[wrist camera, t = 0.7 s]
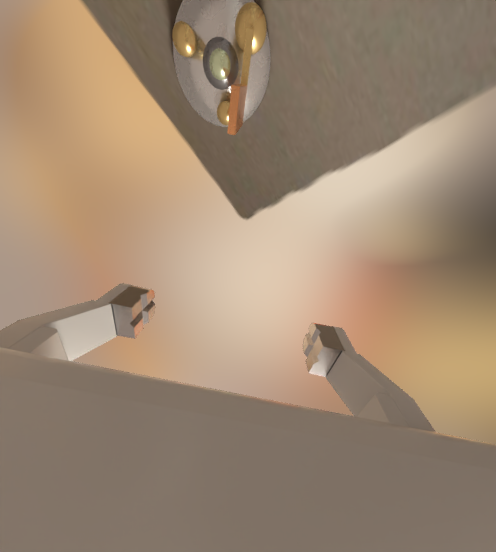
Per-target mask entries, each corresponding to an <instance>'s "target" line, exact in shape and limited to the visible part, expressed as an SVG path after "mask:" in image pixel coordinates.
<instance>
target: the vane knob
mask: <svg viewBox="0 0 496 552" xmlns="http://www.w3.org/2000/svg"><path fill="white" fill-rule="evenodd" d="M266 30H267V29H266V20H265V16H264V13H263V11H262V9H261V8H260V6H259V5H257V4H256V3H253V2H249V3H246V4H244V5H243V6H242V7H241V9H240V10H239V12H238V14H237V17H236V22H235V35H236V40H237V43H238V45H239V47H240V48H241V49H242V50H243V51H244V54H243V64H242V73H241V83H240V84H232V85H231V97H230V109H229V121H228V134H232V135H235V134H236V133H237V132H238V130H239V129H240V127H241V126H242V125H243V117H244V109H245V101H246V93H247V85H248V77H249V69H250V61H251V55H254V54H256V53H258V52H259V51H260V50H261V48H262V47H263V45H264V42H265V39H266Z"/></svg>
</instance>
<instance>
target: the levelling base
mask: <svg viewBox="0 0 496 552" xmlns="http://www.w3.org/2000/svg"><path fill="white" fill-rule="evenodd" d="M249 2H253V3H255V1H254V0H183V1H182V3H181V5H180V8H179V10H178V13H177V17H176V21H175V25H174V28H173V33H172V37H173V55H174V63H175V68H176V73H177V76H178V80H179V83H180V85H181V88H182V90H183V92H184V94H185V96H186V98H187V100H188V101H189V103H190V104H191V106H192V107H193V108H194V110H195V111H196V112H197V113H198V114H199V115H200V116H201V117H203V118H204V119H205V120H207V121H208V122H210V123H212V124H215V125H218V126H223V127H228V121H229V109H230V97H231V85H232V84H240V83H241V73H242V64H243V54H244V51H243V50H242V49H241V48H240V47H239V45H238V43H237V40H236V35H235V22H236V17H237V14H238V12H239V10H240V9H241V7H242V6H243V5H244V4H246V3H249ZM269 73H270V45H269V38H268V33H267V30H266V39H265V42H264V45H263V47H262V48H261V50H260V51H259V52H258V53H256V54H254V55H251V61H250V69H249V77H248V85H247V93H246V101H245V109H244V117H243V122H244V121H245V120H247V119H248V118H249V117H250V116H251V115H252V114H253V113H254V112H255V110H256V109H257V108H258V106H259V104H260V102H261V101H262V98H263V96H264V94H265V91H266V88H267V84H268V80H269Z"/></svg>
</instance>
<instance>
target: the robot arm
mask: <svg viewBox="0 0 496 552" xmlns="http://www.w3.org/2000/svg"><path fill="white" fill-rule="evenodd" d="M154 297H155V295H154V291H153V290H151V289H147V288H143V287H138V286H133V285H129V284H124V283H122V284H119V285H118V286H116V287H115V288H113V289H112V290H110V291H109V292H108V293H106V294H105V295H103V296H102V297H101V298H99V299H98V300H96V301H94V300H91V301H88V302H84V303H80V304H77V305H73V306H69V307H66V308H62V309H58V310H55V311H51V312H47V313H43V314H40V315H36V316H33V317H29V318H25V319H21V320H18V321H16V322H15V323H13V324H11V325H9V326H8V327H6V328H4V329H2V330H1V331H0V552H496V444H493V443H488V442H483V441H477V440H472V439H467V438H462V437H457V436H452V435H447V434H441V433H437V432H435V430H434V429H433V428H432V426H431V424H430V423H429V421H428V420H427V418H426V417H425V416H424V414H423V413H422V411H421V410H420V408H419V407H418V405H417V404H416V402H415V401H414V400H413V398H411V397H410V396H409V395H408V394H407V393H405V392H404V391H403V390H402V389H400V388H399V387H398V386H397V385H396V384H395V383H393V382H392V381H391V380H390V379H389V378H387V377H386V376H385V375H384V374H382V373H381V372H380V371H379V370H378V369H377V368H376V367H374V366H373V365H372V364H371V363H369V362H368V361H367V360H366V359H365V358H364V357H362V356H361V355H360V354H357V353H356V352H355V350H354V348H353V346H352V344H351V342H350V341H349V339H348V337H347V335H346V333H345V331H344V330H343V329H342V328H339V327H333V326H326V325H321V324H316V323H312V324H311V325H310V327H309V331H310V333H308V334H306V335H305V338H304V341H303V351H304V354H305V355H306V356H307V359H306V364H307V368H308V372H309V373H310V374H315V375H319V376H323V377H326V379H327V380H328V381H329V383H330V384H331V385H332V387H333V388H334V390H335V391H336V392H337V394H338V395H339V396H340V398H341V399H342V400H343V401H344V403H345V404H346V406H347V407H348V408H349V409H350V411H351V412H352V414H353V415H354V416H349V415H344V414H339V413H334V412H329V411H324V410H319V409H314V408H309V407H303V406H298V405H293V404H288V403H283V402H278V401H273V400H268V399H262V398H257V397H252V396H247V395H242V394H237V393H231V392H227V391H222V390H216V389H211V388H206V387H200V386H196V385H191V384H186V383H181V382H176V381H170V380H165V379H160V378H155V377H150V376H145V375H140V374H135V373H129V372H124V371H119V370H114V369H109V368H104V367H99V366H94V365H88V364H83V363H78V362H73V361H72V360H74V359H76V358H78V357H79V356H81V355H83V354H85V353H87V352H89V351H91V350H92V349H94V348H96V347H98V346H100V345H102V344H103V343H105V342H107V341H109V340H111V339H113V338H115V337H117V336H123V337H129V338H136V337H137V336H138V335H139V333H140V332H141V331H142V330H143V329H144V328H143V324H145V323H147V322H149V321H150V320H151V319H152V317H153V314H154V311H155V303H154V302H153V301H152V299H153V298H154Z"/></svg>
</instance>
